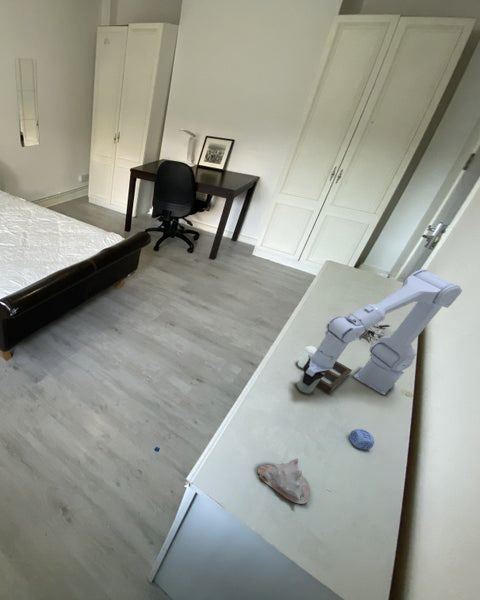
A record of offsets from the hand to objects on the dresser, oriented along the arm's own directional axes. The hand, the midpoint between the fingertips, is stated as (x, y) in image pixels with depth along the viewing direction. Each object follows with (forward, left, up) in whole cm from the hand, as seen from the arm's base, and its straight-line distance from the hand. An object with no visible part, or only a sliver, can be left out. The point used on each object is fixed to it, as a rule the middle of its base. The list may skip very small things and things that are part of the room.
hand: (309, 380), depth 108 cm
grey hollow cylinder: (0, 0, -4) cm, 4 cm away
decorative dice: (-19, +7, -4) cm, 21 cm away
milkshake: (+6, -11, -4) cm, 13 cm away
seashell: (-13, +38, -4) cm, 40 cm away
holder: (-1, -13, -4) cm, 14 cm away
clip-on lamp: (-2, -57, -4) cm, 57 cm away
